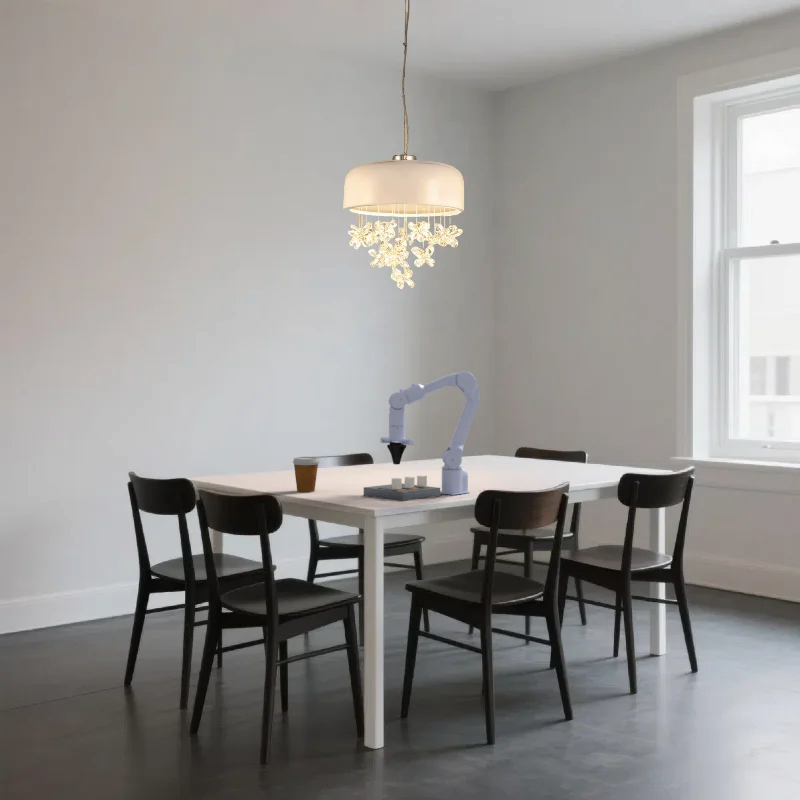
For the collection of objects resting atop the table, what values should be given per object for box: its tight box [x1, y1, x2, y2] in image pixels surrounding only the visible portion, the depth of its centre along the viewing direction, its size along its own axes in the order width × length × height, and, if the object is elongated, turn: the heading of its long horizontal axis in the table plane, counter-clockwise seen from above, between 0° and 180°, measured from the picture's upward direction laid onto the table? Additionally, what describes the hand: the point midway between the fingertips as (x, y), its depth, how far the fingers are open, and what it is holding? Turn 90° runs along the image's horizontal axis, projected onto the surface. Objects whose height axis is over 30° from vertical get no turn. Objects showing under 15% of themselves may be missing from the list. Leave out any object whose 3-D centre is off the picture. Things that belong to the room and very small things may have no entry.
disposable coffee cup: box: [292, 456, 320, 493], centre depth 375 cm, size 10×10×12 cm
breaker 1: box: [391, 477, 403, 489], centre depth 357 cm, size 2×2×4 cm
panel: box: [363, 482, 441, 502], centre depth 364 cm, size 19×19×3 cm
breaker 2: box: [416, 474, 428, 486], centre depth 367 cm, size 2×2×4 cm
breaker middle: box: [404, 476, 415, 488], centre depth 362 cm, size 2×2×4 cm
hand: (396, 464), depth 371 cm, fingers closed
